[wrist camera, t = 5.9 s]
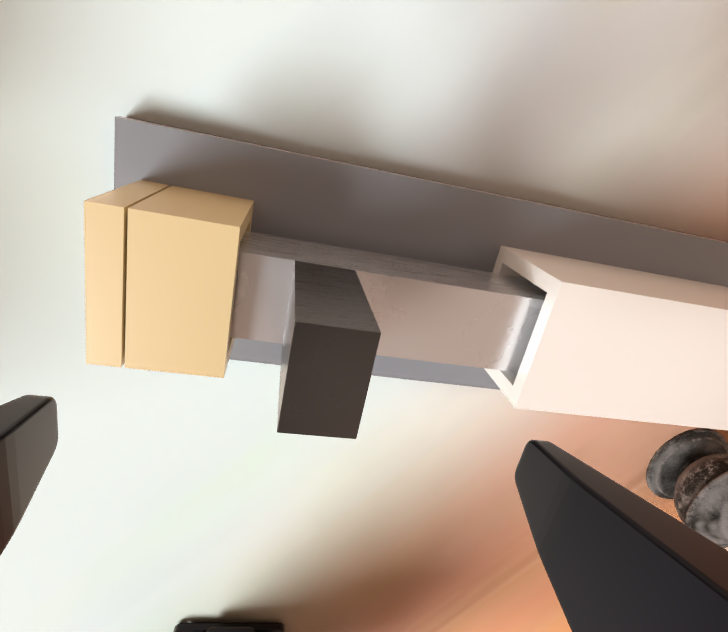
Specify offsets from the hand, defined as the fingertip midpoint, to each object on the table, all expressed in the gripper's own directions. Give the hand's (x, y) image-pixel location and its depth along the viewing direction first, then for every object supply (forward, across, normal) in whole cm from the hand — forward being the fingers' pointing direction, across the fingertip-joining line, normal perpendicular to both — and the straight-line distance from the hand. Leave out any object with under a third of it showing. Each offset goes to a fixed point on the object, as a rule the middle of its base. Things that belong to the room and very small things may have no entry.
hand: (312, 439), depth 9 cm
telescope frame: (+12, -6, 0) cm, 14 cm away
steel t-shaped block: (+10, -3, 0) cm, 11 cm away
